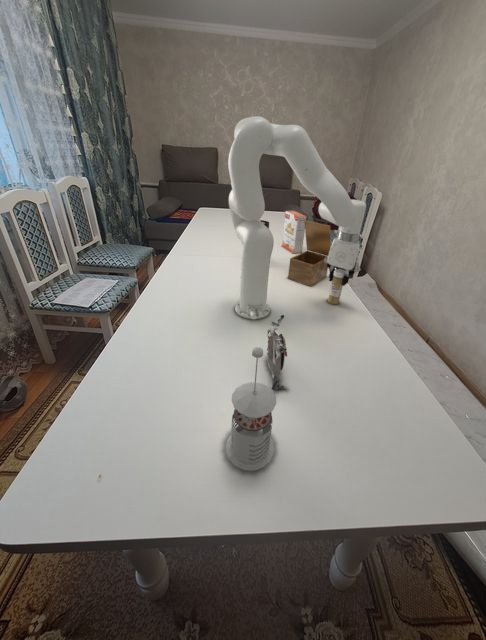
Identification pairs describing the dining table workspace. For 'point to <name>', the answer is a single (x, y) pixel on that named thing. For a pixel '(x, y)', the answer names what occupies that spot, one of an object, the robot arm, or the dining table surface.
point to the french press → (252, 424)
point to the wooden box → (307, 268)
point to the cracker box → (294, 231)
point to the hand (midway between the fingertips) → (337, 282)
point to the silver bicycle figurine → (276, 353)
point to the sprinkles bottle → (336, 286)
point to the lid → (318, 236)
